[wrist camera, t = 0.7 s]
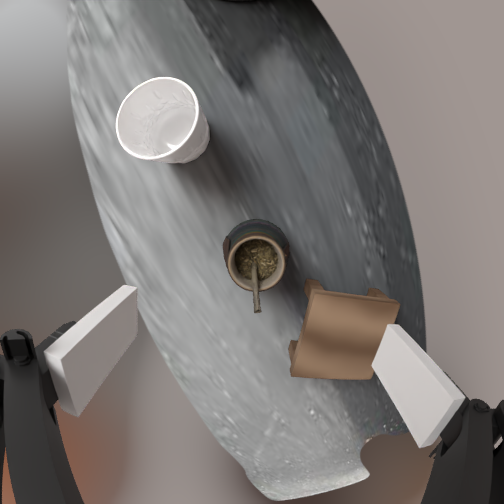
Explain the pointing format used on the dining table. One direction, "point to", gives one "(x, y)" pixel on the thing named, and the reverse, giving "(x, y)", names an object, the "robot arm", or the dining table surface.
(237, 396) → the dining table surface
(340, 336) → the walnut stool
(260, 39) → the dining table surface
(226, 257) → the mate gourd
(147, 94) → the white cup
